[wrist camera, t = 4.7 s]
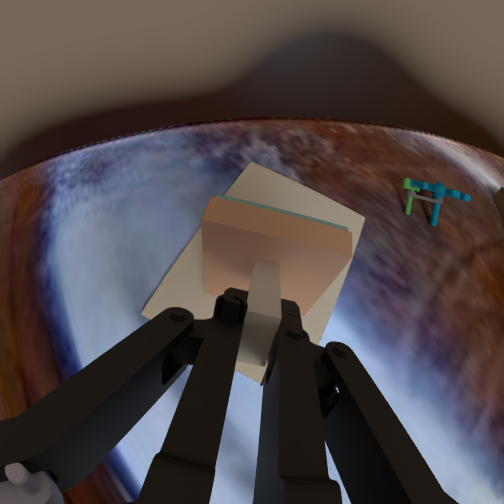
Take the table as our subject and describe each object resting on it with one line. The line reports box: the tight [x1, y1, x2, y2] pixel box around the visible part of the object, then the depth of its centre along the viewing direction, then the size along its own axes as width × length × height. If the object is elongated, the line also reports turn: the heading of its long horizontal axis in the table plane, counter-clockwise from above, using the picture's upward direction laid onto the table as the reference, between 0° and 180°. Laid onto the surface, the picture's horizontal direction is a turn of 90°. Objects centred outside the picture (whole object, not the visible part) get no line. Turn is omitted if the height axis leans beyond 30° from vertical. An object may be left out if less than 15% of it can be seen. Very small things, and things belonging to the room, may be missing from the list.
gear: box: [402, 178, 471, 226], centre depth 30 cm, size 11×6×10 cm
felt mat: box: [141, 162, 365, 384], centre depth 26 cm, size 15×21×1 cm
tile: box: [201, 194, 352, 316], centre depth 20 cm, size 2×9×10 cm, turn 77°
